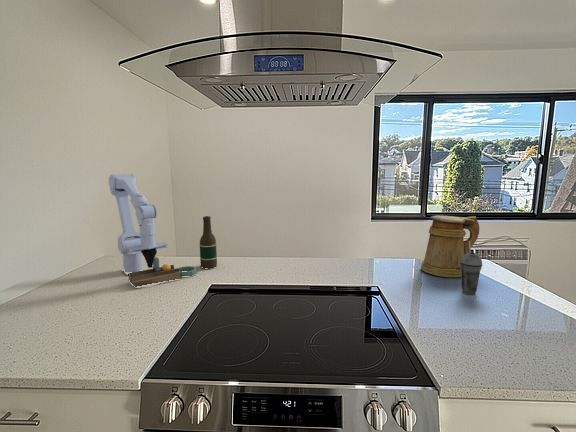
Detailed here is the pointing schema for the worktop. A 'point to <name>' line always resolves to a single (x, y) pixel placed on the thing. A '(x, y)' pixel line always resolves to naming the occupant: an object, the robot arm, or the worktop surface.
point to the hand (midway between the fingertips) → (150, 267)
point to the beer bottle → (208, 245)
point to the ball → (166, 267)
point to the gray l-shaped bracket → (156, 265)
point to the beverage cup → (470, 272)
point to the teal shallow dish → (189, 270)
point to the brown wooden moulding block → (153, 276)
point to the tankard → (448, 244)
